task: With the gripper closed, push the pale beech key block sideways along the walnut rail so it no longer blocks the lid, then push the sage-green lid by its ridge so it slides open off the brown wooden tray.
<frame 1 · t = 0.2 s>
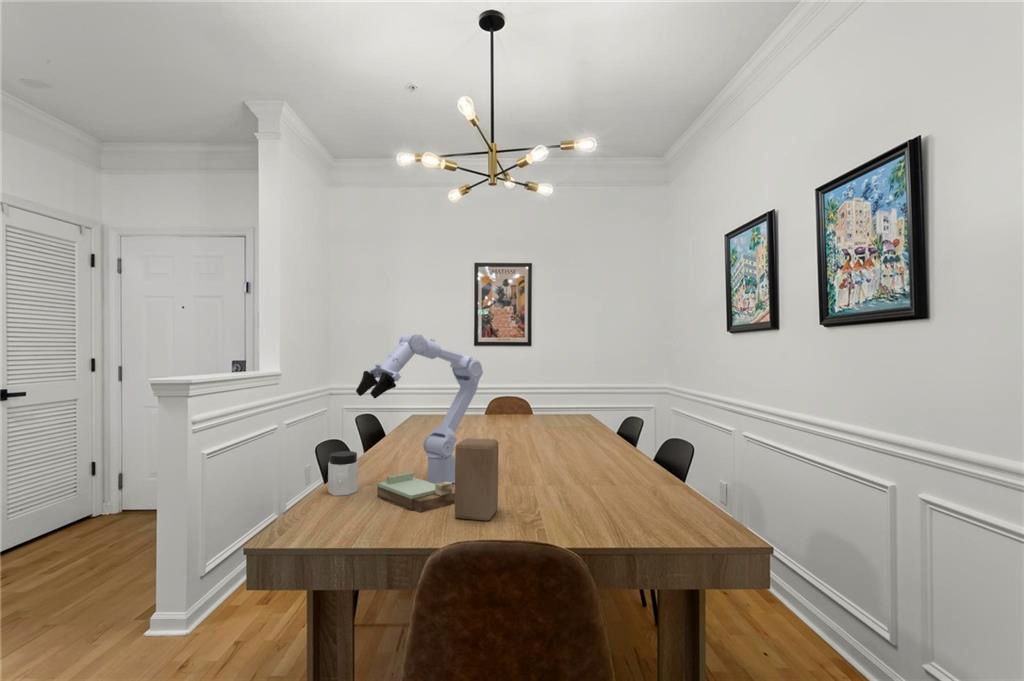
hand: (365, 394, 151), 31 cm above the table, tool tilted 45°, fingers open, 7 cm apart
brown wooden tray: (410, 499, 153), on the table
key: (443, 488, 148), point 5 cm above the table, slide at 0.0 cm
block: (476, 515, 139), on the table
lid: (411, 483, 153), point 5 cm above the table, slide at 0.0 cm
jar: (342, 492, 160), on the table
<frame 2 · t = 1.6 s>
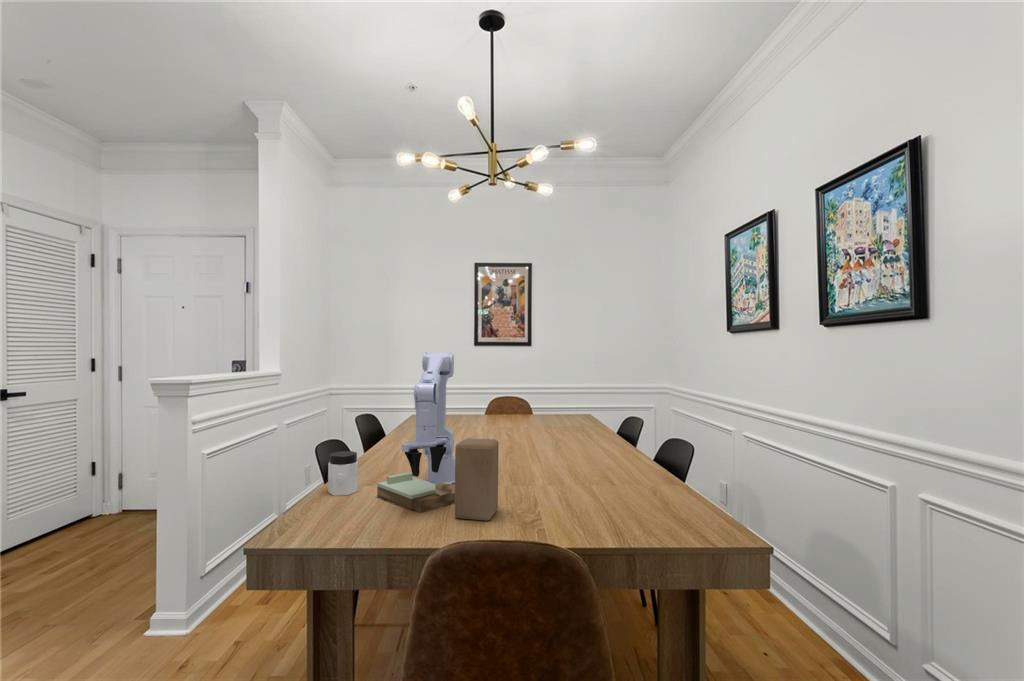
hand: (425, 473, 144), 10 cm above the table, tool pointing down, fingers open, 6 cm apart
nothing on the table moved.
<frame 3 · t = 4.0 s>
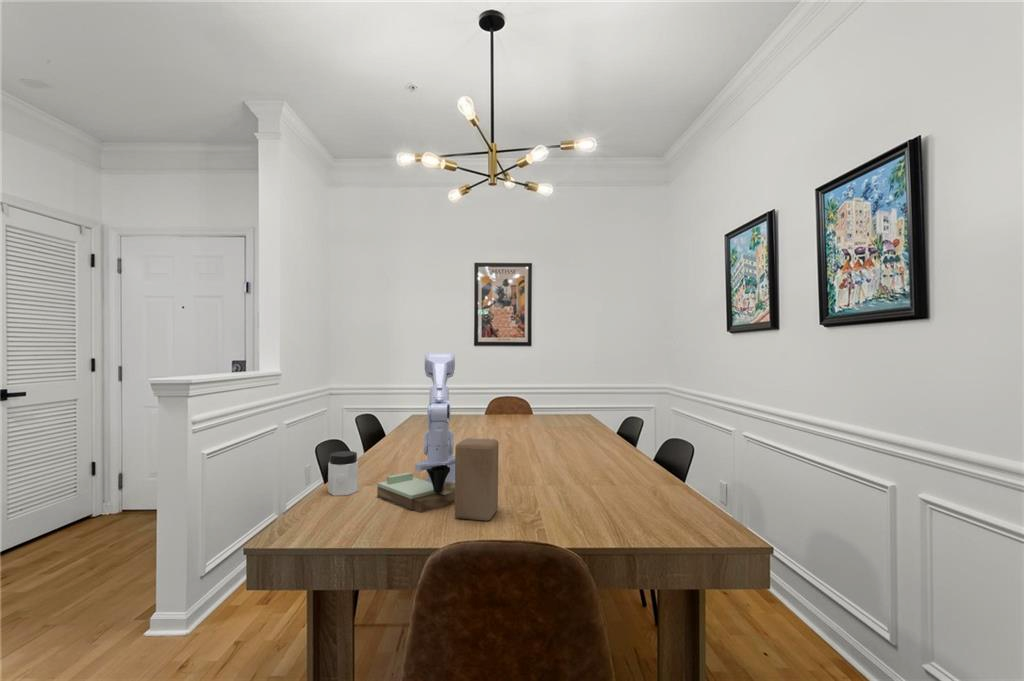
hand: (437, 492, 147), 4 cm above the table, tool pointing down, fingers closed
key: (447, 487, 149), point 5 cm above the table, slide at 1.3 cm, touching gripper
everything else where it was.
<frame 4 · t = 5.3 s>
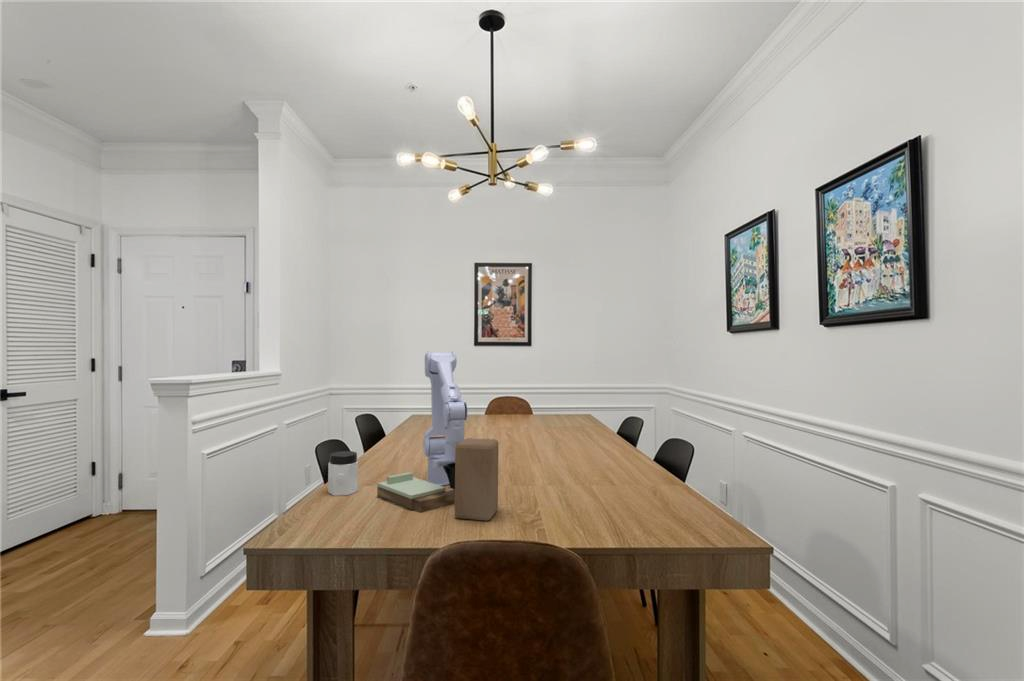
hand: (454, 488, 151), 4 cm above the table, tool pointing down, fingers closed
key: (462, 484, 153), point 5 cm above the table, slide at 7.2 cm, touching gripper
everything else where it was.
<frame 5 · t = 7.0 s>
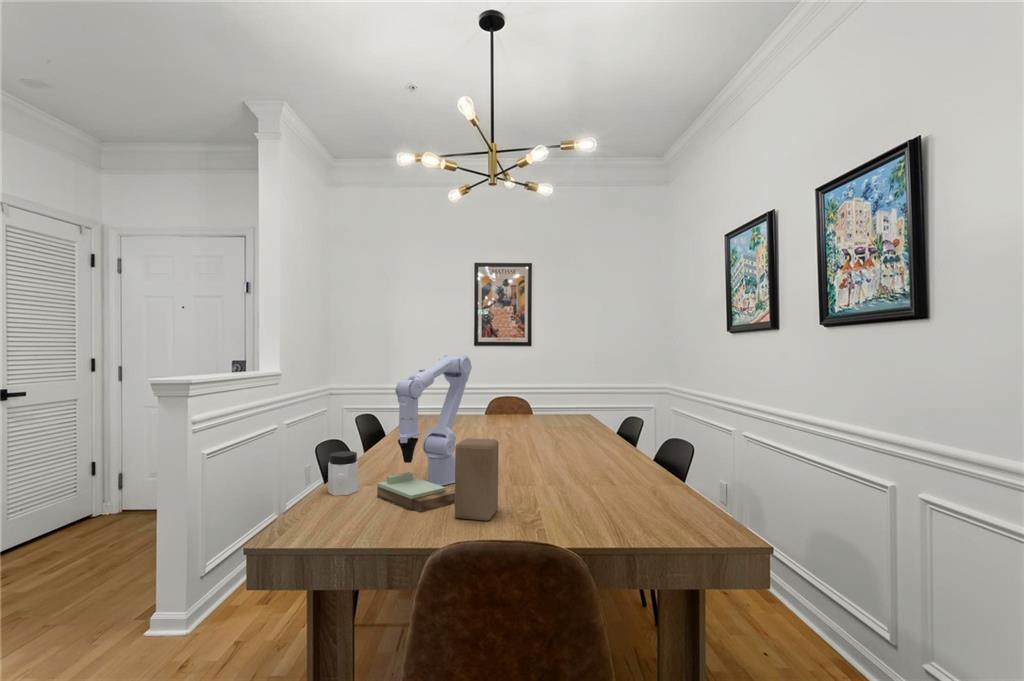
hand: (407, 462, 158), 10 cm above the table, tool pointing down, fingers closed
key: (463, 483, 153), point 5 cm above the table, slide at 7.3 cm
everything else where it was.
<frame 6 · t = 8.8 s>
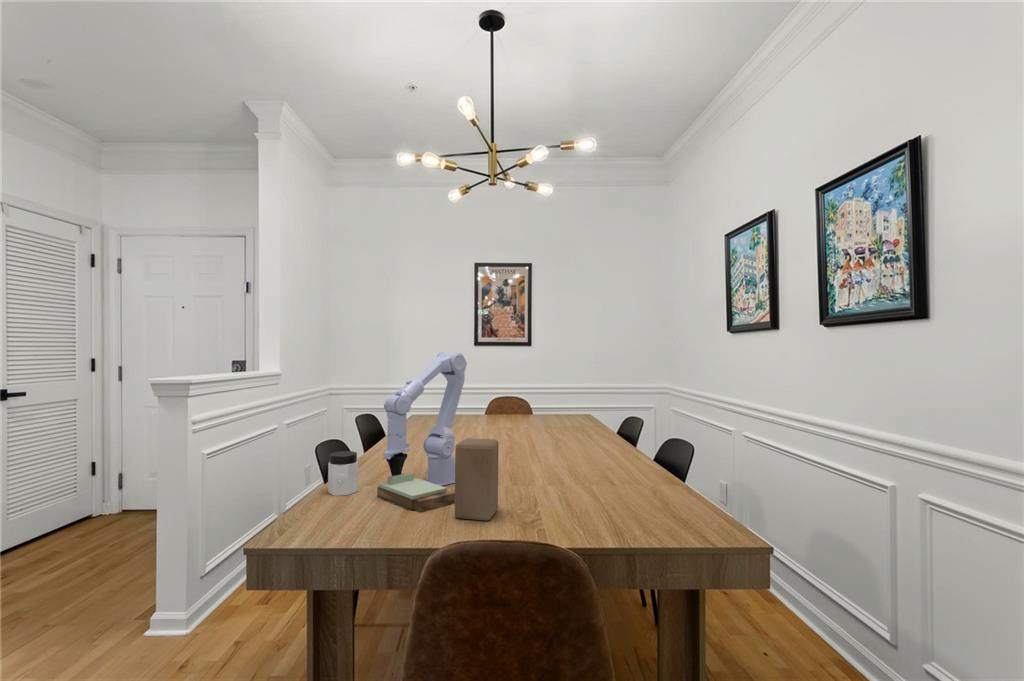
hand: (396, 477, 158), 5 cm above the table, tool pointing down, fingers closed
lid: (412, 483, 152), point 5 cm above the table, slide at 0.6 cm, touching gripper
everything else where it was.
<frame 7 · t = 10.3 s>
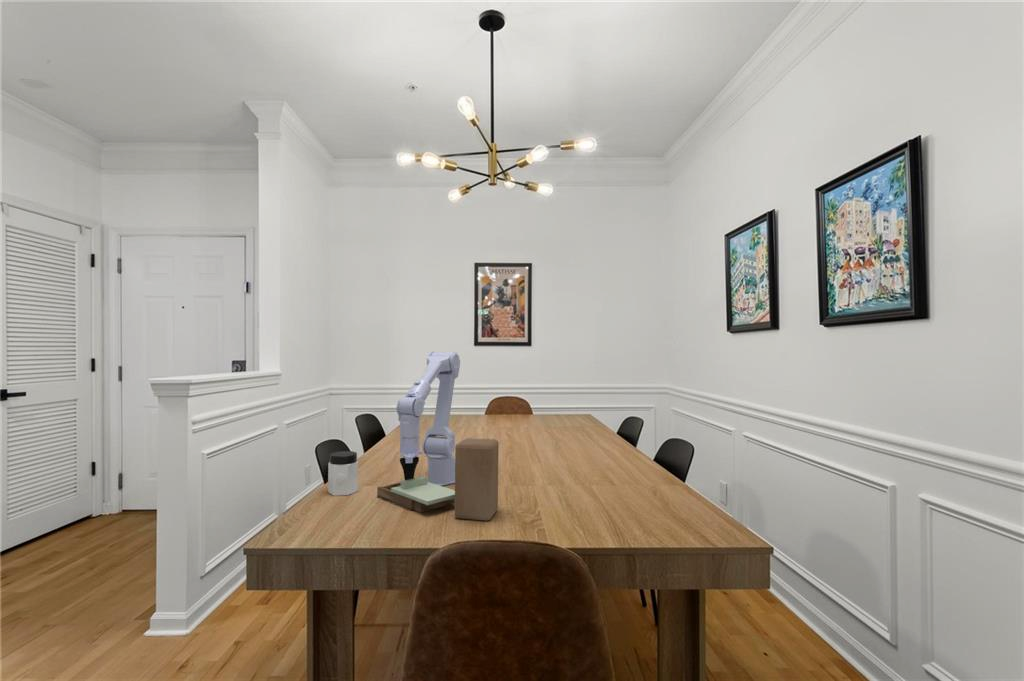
hand: (409, 482, 153), 5 cm above the table, tool pointing down, fingers closed
lid: (425, 488, 147), point 5 cm above the table, slide at 7.5 cm, touching gripper
everything else where it was.
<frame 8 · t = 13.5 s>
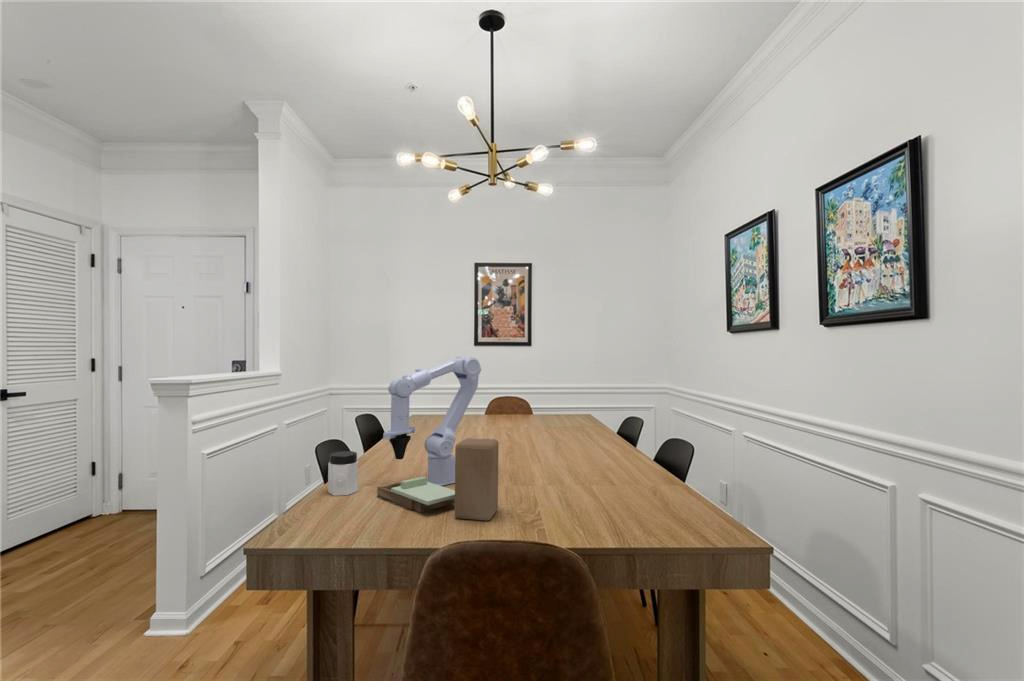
hand: (399, 458, 163), 10 cm above the table, tool pointing down, fingers closed
lid: (426, 488, 147), point 5 cm above the table, slide at 7.5 cm
everything else where it was.
at the end: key slide at 7.3 cm; lid slide at 7.5 cm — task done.
